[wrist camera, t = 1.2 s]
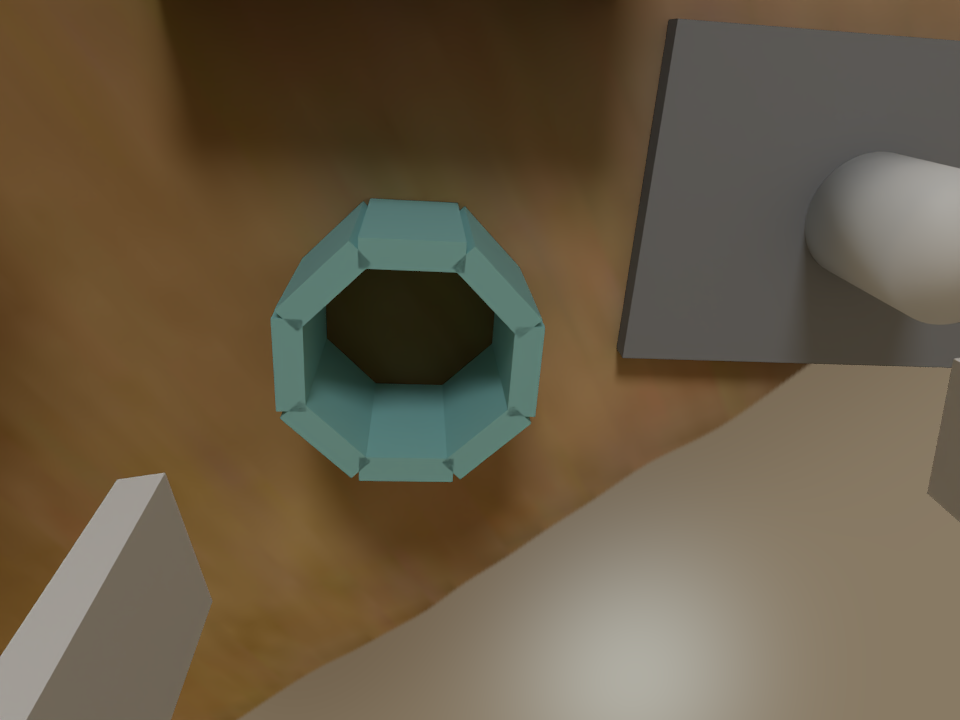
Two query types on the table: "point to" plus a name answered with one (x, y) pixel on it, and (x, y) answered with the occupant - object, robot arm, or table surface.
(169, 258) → the table surface
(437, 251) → the collar
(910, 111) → the stand
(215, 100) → the table surface
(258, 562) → the table surface
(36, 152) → the table surface
